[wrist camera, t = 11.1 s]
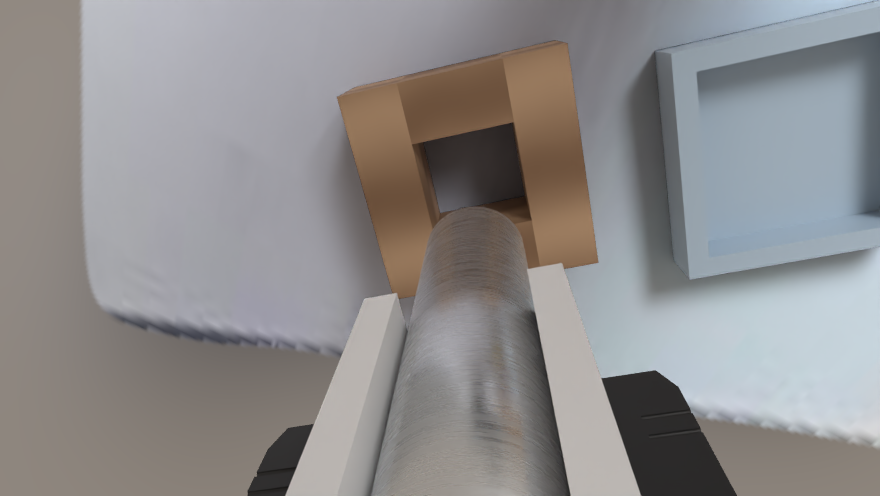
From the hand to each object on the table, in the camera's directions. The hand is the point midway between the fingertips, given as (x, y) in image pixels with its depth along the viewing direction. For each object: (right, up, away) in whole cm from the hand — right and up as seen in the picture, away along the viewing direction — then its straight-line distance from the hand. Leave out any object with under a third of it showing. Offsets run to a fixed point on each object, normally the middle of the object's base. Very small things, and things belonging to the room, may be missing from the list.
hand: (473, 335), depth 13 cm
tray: (+16, +7, +15) cm, 23 cm away
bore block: (+1, +6, +17) cm, 18 cm away
